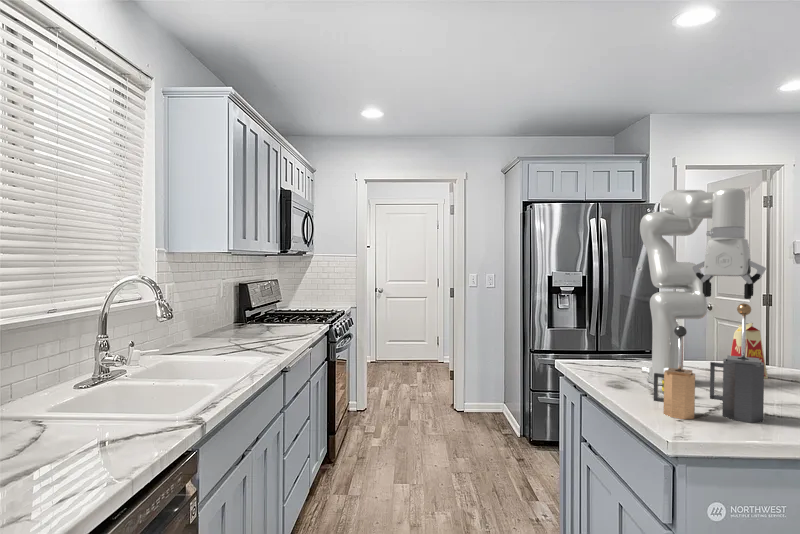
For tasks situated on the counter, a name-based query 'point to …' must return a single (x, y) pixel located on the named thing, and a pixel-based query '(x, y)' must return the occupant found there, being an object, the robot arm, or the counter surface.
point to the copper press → (677, 393)
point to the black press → (740, 388)
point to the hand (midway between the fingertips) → (727, 297)
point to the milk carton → (749, 344)
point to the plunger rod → (743, 325)
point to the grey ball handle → (680, 343)
